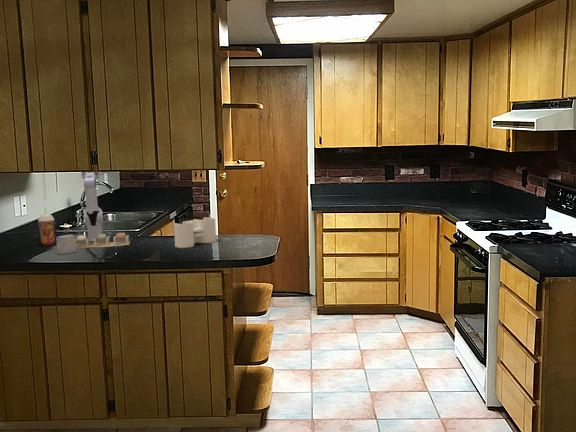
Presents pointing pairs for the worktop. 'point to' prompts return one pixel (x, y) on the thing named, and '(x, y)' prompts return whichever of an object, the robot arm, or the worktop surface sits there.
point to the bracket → (194, 232)
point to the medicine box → (66, 244)
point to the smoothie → (47, 228)
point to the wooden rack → (102, 242)
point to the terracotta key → (120, 235)
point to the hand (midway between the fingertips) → (93, 225)
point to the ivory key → (81, 237)
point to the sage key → (101, 236)
